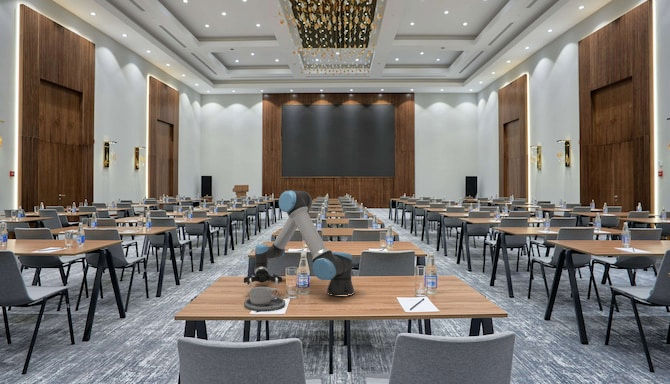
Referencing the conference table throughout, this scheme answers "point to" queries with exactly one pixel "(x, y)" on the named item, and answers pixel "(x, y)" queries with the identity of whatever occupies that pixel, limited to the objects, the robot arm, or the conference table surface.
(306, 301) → the conference table surface
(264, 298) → the teacup
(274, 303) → the dark grey plate
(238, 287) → the conference table surface
